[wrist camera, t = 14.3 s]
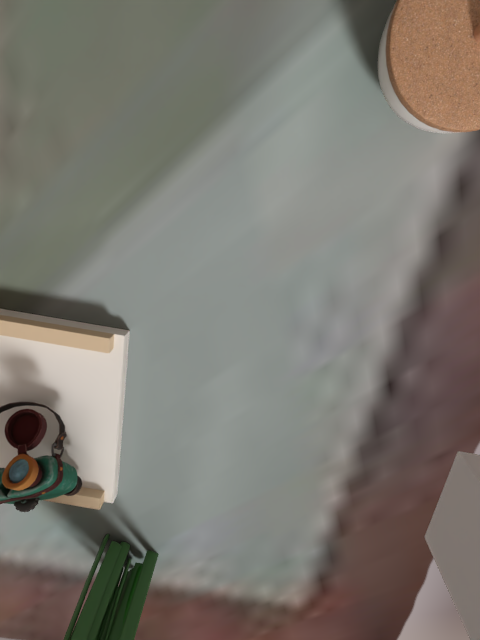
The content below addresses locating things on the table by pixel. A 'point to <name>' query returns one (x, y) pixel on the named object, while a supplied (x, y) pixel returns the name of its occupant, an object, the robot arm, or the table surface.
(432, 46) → the lidded jar
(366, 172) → the table surface
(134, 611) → the daffodil flowers
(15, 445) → the binoculars
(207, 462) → the table surface
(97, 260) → the table surface
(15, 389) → the display riser
